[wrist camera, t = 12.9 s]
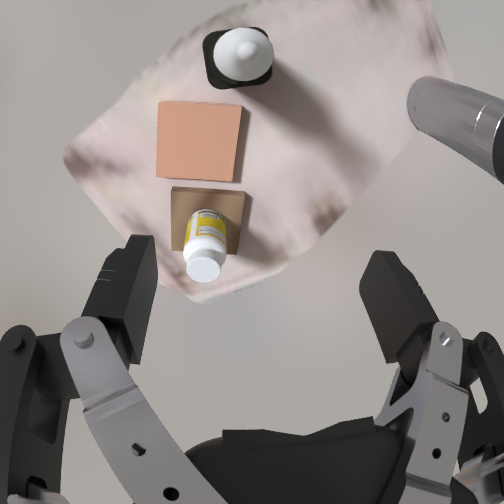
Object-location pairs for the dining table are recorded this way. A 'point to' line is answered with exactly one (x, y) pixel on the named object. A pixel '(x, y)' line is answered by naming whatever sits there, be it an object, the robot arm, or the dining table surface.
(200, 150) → the terracotta tile
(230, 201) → the walnut mat
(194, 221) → the supplement bottle
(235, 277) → the dining table surface
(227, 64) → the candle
